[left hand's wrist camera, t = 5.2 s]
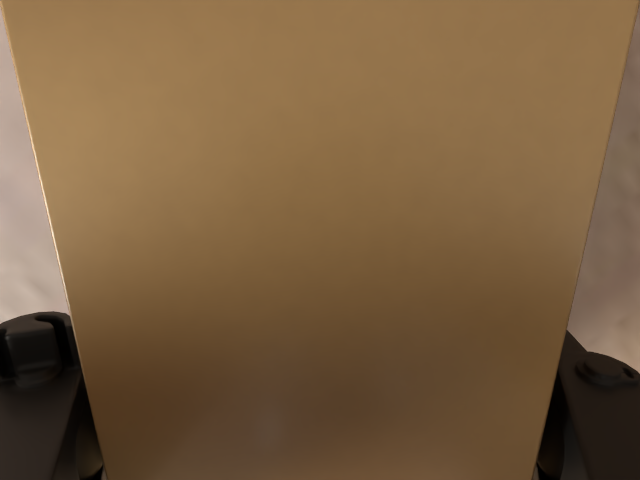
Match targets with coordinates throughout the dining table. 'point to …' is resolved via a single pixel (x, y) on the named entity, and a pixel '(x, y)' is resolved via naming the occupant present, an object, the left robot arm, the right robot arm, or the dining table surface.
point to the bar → (319, 223)
